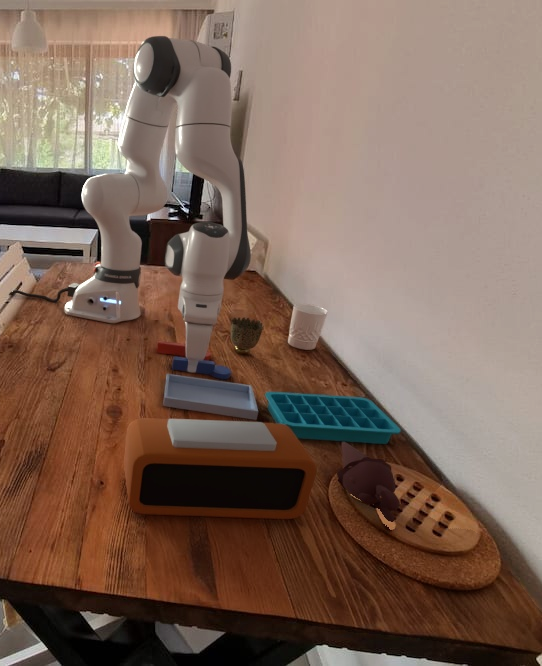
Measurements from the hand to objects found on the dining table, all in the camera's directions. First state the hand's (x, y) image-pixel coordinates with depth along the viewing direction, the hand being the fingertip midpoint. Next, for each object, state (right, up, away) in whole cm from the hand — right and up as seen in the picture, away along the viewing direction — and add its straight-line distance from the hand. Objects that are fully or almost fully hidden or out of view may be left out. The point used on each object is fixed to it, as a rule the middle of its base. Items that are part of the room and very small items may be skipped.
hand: (191, 361), depth 101 cm
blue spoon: (+2, -2, 0) cm, 3 cm away
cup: (+15, +1, +11) cm, 19 cm away
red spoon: (0, +1, +8) cm, 9 cm away
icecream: (+17, -18, -34) cm, 42 cm away
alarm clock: (-6, -17, -36) cm, 40 cm away
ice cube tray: (+21, -11, -17) cm, 29 cm away
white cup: (+33, +3, +18) cm, 37 cm away
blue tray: (+1, -7, -11) cm, 13 cm away
